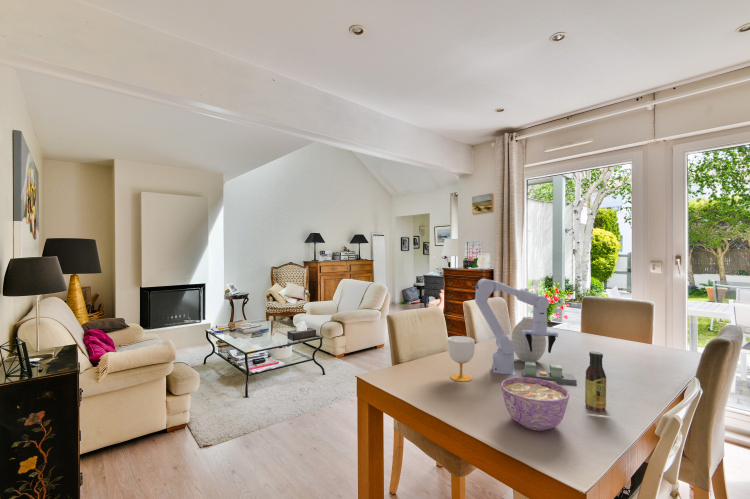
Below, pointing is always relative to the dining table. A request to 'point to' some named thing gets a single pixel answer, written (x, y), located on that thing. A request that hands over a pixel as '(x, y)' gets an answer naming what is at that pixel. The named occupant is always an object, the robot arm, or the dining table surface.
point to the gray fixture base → (546, 375)
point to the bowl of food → (535, 402)
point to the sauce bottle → (595, 384)
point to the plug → (555, 371)
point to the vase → (522, 344)
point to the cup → (461, 354)
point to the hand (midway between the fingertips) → (540, 351)
